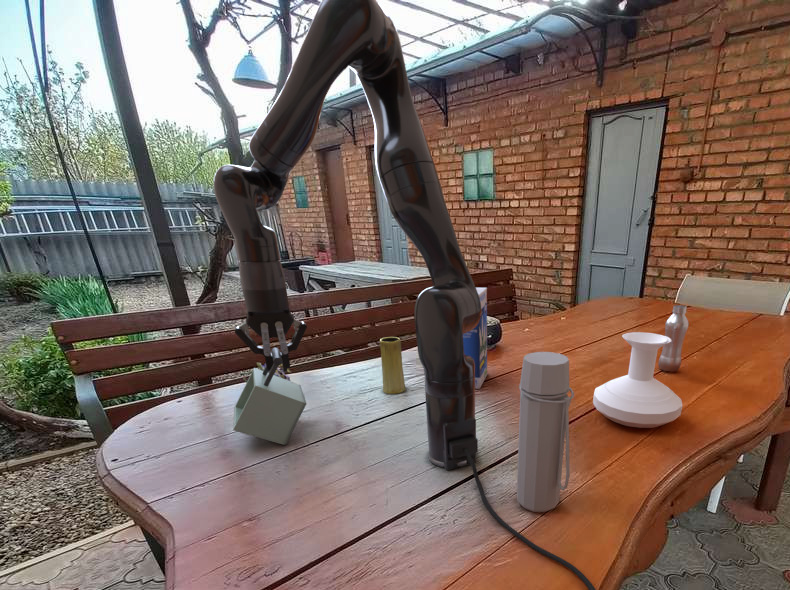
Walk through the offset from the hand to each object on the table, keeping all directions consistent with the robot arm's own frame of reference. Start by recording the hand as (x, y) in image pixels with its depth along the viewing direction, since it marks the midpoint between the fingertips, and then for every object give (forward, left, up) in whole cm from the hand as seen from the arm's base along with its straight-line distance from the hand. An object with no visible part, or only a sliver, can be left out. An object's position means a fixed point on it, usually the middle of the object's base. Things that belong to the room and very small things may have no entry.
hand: (279, 370), depth 88 cm
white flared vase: (-29, -73, -14) cm, 80 cm away
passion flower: (+24, +3, -14) cm, 28 cm away
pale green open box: (0, -3, -7) cm, 8 cm away
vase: (+14, -27, -14) cm, 34 cm away
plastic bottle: (-9, -108, -14) cm, 110 cm away
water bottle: (-47, -34, -14) cm, 60 cm away
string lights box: (+11, -49, -14) cm, 52 cm away
